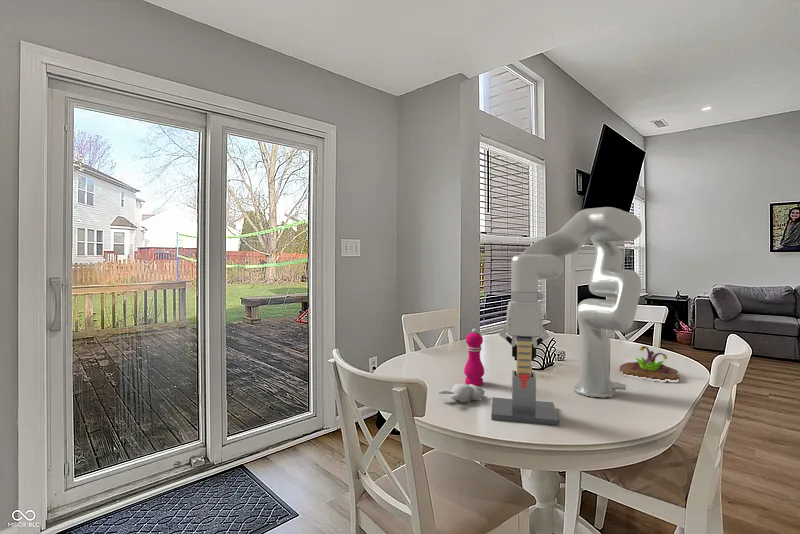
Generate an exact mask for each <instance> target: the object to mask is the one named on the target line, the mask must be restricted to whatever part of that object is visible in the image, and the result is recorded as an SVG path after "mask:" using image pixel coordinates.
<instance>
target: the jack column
mask: <svg viewBox="0 0 800 534" xmlns="http://www.w3.org/2000/svg"><path fill="white" fill-rule="evenodd" d="M516 344H517V360H516V370H515V371H516V376H519V377H520V374H529V377H531V372H532V362H533V361H532V338H531V337H518V336H517V340H516Z"/></svg>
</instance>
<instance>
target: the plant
mask: <svg viewBox="0 0 800 534" xmlns="http://www.w3.org/2000/svg"><path fill="white" fill-rule="evenodd" d="M645 349H646V351H647V357H646V359H645V358H644V357H643V356H642V357H641V358H640V359H639V358H637V357H634V359H635V360H636V361H632V362H625V363H623V364H621V365H620V366H619V372H620V371H622V372H623V374H626V375H633V376H638V377H646V378H651V379H660V380H665V379H670V380H677V379H679V380H680V375H679V371H678V370H676V369H675V368H673V367H669V366H668V365H667V366H666V365H665V364H664V363H665V361H664V360H667V359H668V356H667V355H666V354H665V353H662V352H657V353H655V352H654V351H653V350H650V348H649V347H648V346H645V345H643V346H640V347H639V351H642V352H643V351H644V350H645ZM660 355H662V357H663V359H664V360H661V361H660V360H659V361H658V362H657V360H656V358H657V357H658V356H660ZM677 373H678V374H677ZM623 374H622V375H623Z"/></svg>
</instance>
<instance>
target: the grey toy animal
mask: <svg viewBox="0 0 800 534" xmlns="http://www.w3.org/2000/svg"><path fill="white" fill-rule="evenodd" d="M438 394H440V395H449V397H450V399H451V400H453V401H456V402H457V401H459V403H461V404H464V403H470V402H471V401H479V400H482V398H483V396H485V390H484V389H483V388H482V387H481V386H475V385H472V384H469V385H467V384H464V383H455V384H454V385H453V386H452V389H439V391H438Z"/></svg>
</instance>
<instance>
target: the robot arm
mask: <svg viewBox="0 0 800 534" xmlns="http://www.w3.org/2000/svg"><path fill="white" fill-rule="evenodd" d="M642 225H643V224H642V222H641V219H639V217H638V216H637V215H636V214H633V213H631V212H628V211H625V210H622V209H621V208H617V207H613V206H612V207H611V206H603V207H593V208H584V209H581V210H580V211H578V212H576V214H574V216H573V217H572V218H570V219H569V220H568V221H567V222H566V223H565V224H564V225H563V226H562V227H561V228H560V229H559V230H558V231H556V232H553V233H552V234H549V235H547V236H545V237H543V238H541V239H538V240H537V241H535V242H533V243H532V244H531V245H529V246H528V247H527V248H526V249H525V250H524V251H523V252H521V254H518V255H514V256H512V258H511V262H510V264H511V267H510V268H511V271H510V273H511V274H510V276H511V278H510V279H511V287H510V289H511V291H510V294H511V295H510V300H509V301H508V303H507V307H506V321H505V323H506V324H505V326H504V327H503V328H502V329H501V331H500V333H499V336H500V337H501V338H502V339H504V340H505V341H506V342H508V344H509V345H511V357H512V358H514V361H517V336H518V337H531V338H532V362H534V361H535V360H534V359H536V358H537V348H538V346H540V345H541V344H542V343H543V342H544V341H546V340H549V339H550V335H549V334H548V331H547V330H546V329H545V327H544V326H543V325H544V324H543V313H542V312H543V311H542V304H541V302H540V300H541V299H544V293H540V292H539V280H548V281H550V280H555V279H557V278H559V277H560V276H561V275H562V273H563V271H564V263H563V261H562V259H561V258H560V257H563V256H568V255H571V254H574V253H576V252H578V251H579V250H580V249H581V248H582V247H583V246H584V245H585V244H586V243H587V242H588V241H589V240H591V242H592V245H593V247H594V251H595V252H594V253H595V258H594V262H593V265H592V269H591V273H590V277H589V282H588V290H589V292H590V293H591V294H592V295H595V296H598V297H603V298H612V299H616V300H609V299H602V298H601V299H600V298H586V299H583V300H582V301H580V302H579V303H578V304H577V307H576V318H577V323H578V330H579V331H578V333H579V334H578V335H579V344H578V345H579V347H578V350H579V351H578V352H579V354H578V355H579V356H578V383H575V384H574V386H573V391H574V392H575V393H577V394H579V395H581V394H582V395H581V396H584V395H585V396H584V397H588V396H590V397H589V398H594V397H601V398H600V399H603V398H602V397H609V398H612V397H611V396H613V395H614V394H615V393H616V392H615V390H619V391H621V390H622V391H626V390H627V386H626V384H625V383H620V382H619V381H617V382H616V381H612V380H611V347H612V346H611V344H612V343H611V339H610V335H609V333H608V330H609V331H614V332H615V331H616V332H626V331H628V330H630V329H631V328H632V326H633V325H634V321H635V318H636V313H637V309H638V304H639V301H640V297H641V292H642V281H641V277H640V275H639V273H637V272H636V271H634V270H631V269H625V268H624V269H622V266H623V265H622V264H623V257H624V256H623V254H622V253H623V252H622V251H621V249H620V248H619V246H618V245H617V244H616V242H629V241H634V240H637V239H638V237H640V235H641V233H642V230H643V226H642ZM615 395H616V394H615ZM615 395H614V396H615ZM614 396H613V397H614Z"/></svg>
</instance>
